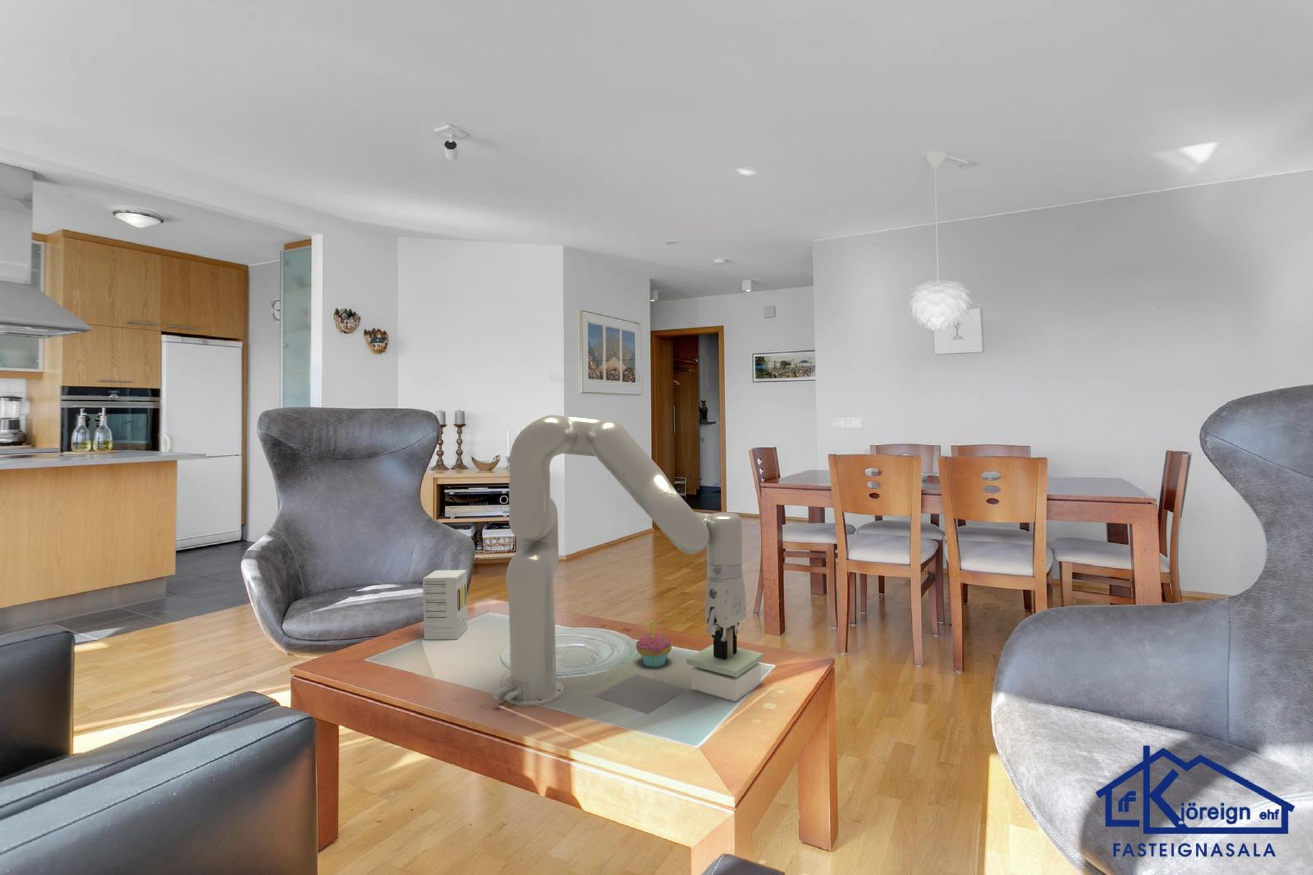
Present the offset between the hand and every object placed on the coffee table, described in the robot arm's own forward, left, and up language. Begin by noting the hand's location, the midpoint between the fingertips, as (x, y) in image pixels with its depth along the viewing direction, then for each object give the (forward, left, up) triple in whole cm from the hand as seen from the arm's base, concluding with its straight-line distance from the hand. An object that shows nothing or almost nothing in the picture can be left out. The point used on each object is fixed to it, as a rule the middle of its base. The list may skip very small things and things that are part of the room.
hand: (725, 654), depth 139 cm
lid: (0, 0, -2) cm, 2 cm away
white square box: (0, 0, -8) cm, 8 cm away
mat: (-13, +13, -8) cm, 20 cm away
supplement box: (-13, +81, -8) cm, 82 cm away
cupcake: (+2, +21, -8) cm, 22 cm away
